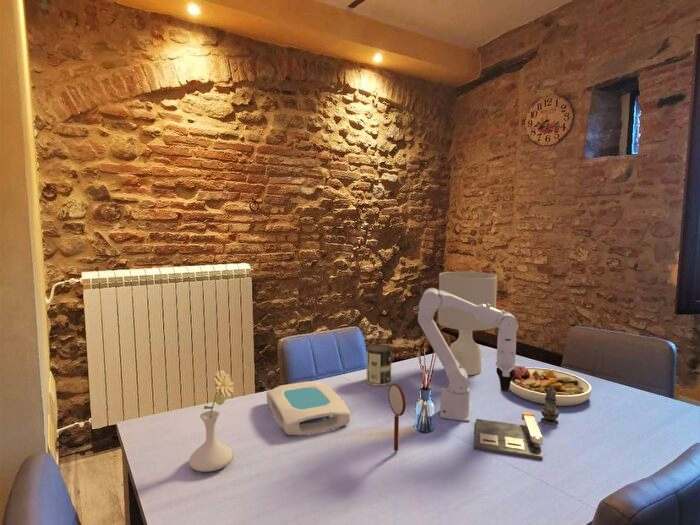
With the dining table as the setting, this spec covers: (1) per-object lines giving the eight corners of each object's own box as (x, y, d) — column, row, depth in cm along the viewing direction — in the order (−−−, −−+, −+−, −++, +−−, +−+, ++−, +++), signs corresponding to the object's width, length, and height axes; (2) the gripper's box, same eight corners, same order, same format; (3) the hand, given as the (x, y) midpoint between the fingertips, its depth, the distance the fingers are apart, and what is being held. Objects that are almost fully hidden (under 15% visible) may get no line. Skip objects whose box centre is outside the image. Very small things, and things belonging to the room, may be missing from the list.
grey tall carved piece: (561, 426, 137) (563, 389, 136) (542, 424, 139) (543, 388, 137) (556, 418, 143) (558, 383, 142) (538, 416, 144) (539, 381, 143)
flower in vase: (208, 481, 108) (205, 385, 105) (179, 467, 114) (176, 376, 111) (246, 457, 119) (244, 369, 116) (218, 446, 125) (216, 362, 122)
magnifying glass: (386, 446, 125) (386, 379, 123) (391, 445, 125) (392, 378, 124) (401, 461, 117) (401, 390, 115) (406, 460, 117) (407, 389, 116)
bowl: (593, 388, 170) (594, 369, 169) (587, 417, 144) (589, 394, 144) (513, 374, 186) (514, 356, 185) (496, 397, 160) (497, 377, 160)
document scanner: (286, 440, 129) (286, 420, 128) (266, 404, 154) (266, 387, 154) (351, 426, 137) (351, 408, 137) (321, 394, 163) (321, 378, 162)
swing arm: (521, 417, 139) (521, 411, 139) (533, 418, 138) (533, 413, 138) (531, 445, 122) (531, 438, 121) (544, 446, 121) (545, 440, 121)
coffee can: (390, 376, 181) (390, 344, 180) (392, 386, 171) (392, 351, 169) (365, 376, 181) (366, 344, 180) (366, 386, 171) (366, 351, 170)
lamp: (484, 384, 173) (488, 279, 169) (428, 372, 186) (430, 275, 182) (499, 367, 193) (503, 273, 189) (448, 358, 206) (450, 270, 202)
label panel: (474, 449, 123) (474, 442, 123) (476, 421, 140) (476, 416, 140) (542, 460, 118) (542, 453, 118) (535, 429, 135) (535, 424, 135)
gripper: (520, 358, 131) (518, 401, 133) (518, 345, 145) (516, 384, 146) (496, 355, 134) (494, 398, 135) (496, 343, 147) (495, 381, 148)
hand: (504, 390), depth 141 cm, fingers closed
